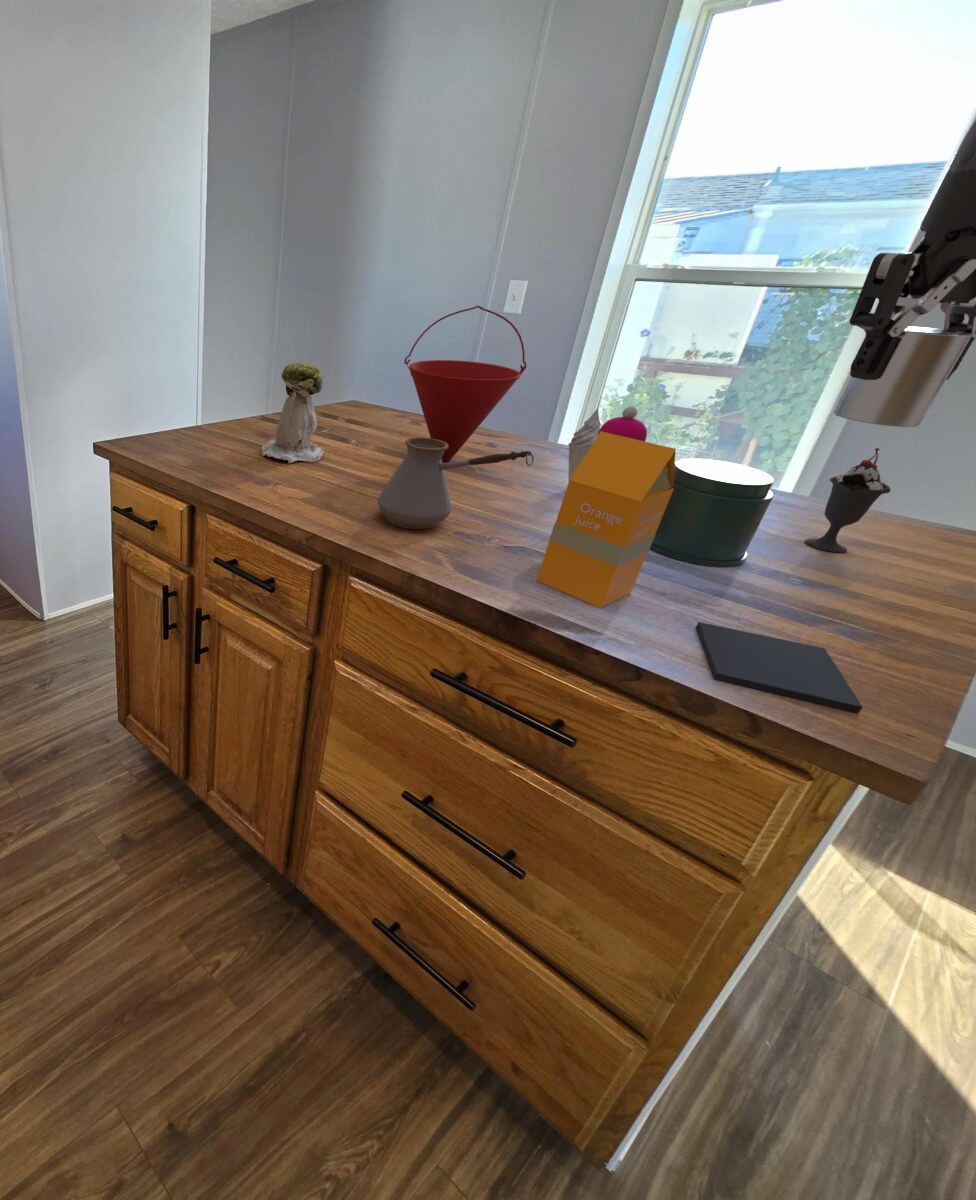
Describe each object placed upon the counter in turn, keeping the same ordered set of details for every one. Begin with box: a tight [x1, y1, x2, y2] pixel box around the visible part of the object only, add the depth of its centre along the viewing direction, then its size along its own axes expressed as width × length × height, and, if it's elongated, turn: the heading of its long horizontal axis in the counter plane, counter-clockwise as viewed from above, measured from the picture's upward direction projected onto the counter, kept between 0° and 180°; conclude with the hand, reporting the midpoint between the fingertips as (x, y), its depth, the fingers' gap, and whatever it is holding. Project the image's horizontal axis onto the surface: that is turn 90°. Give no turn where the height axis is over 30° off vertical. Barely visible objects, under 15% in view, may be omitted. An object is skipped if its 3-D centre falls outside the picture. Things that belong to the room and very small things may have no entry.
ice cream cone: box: [567, 407, 602, 484], centre depth 118 cm, size 5×5×15 cm
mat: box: [695, 621, 863, 714], centre depth 72 cm, size 12×12×1 cm
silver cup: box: [832, 325, 972, 428], centre depth 61 cm, size 6×6×8 cm
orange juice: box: [536, 432, 677, 609], centre depth 83 cm, size 8×9×20 cm
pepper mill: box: [597, 406, 648, 442], centre depth 98 cm, size 7×7×20 cm
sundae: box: [804, 447, 891, 554], centre depth 97 cm, size 7×7×15 cm
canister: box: [649, 458, 775, 568], centre depth 97 cm, size 14×14×12 cm
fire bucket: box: [403, 305, 527, 463], centre depth 124 cm, size 22×20×30 cm
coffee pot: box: [377, 437, 535, 530], centre depth 100 cm, size 21×12×15 cm, turn 44°
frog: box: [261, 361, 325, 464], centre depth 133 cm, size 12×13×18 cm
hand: (897, 378), depth 61 cm, fingers closed on silver cup, 6 cm apart
